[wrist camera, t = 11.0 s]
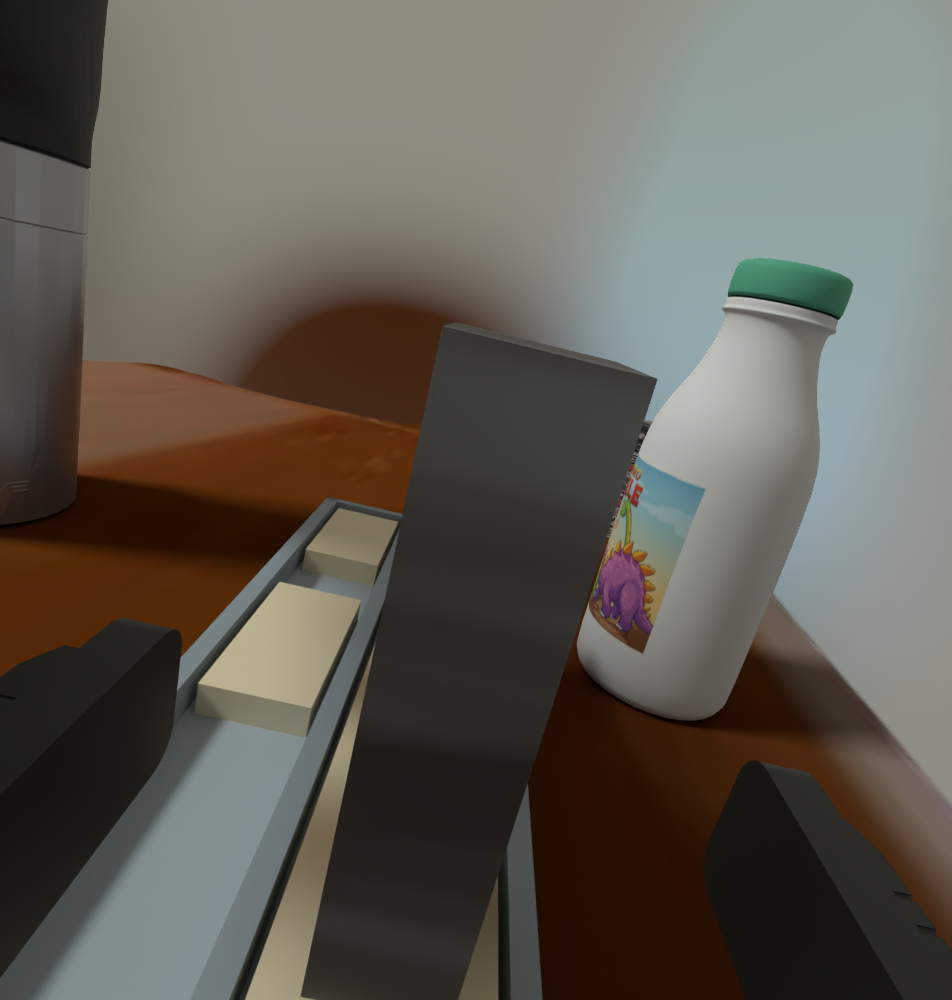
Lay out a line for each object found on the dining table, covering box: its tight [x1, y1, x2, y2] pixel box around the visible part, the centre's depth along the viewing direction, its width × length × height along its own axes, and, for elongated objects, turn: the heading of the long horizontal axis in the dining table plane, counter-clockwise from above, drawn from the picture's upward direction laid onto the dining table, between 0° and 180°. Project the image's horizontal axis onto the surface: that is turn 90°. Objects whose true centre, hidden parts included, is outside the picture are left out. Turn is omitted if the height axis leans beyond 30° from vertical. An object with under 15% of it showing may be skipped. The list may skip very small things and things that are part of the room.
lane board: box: [0, 497, 543, 1000], centre depth 25 cm, size 31×12×2 cm, turn 178°
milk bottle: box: [577, 258, 853, 721], centre depth 28 cm, size 8×8×20 cm
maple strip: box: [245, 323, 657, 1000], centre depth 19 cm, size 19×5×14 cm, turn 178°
